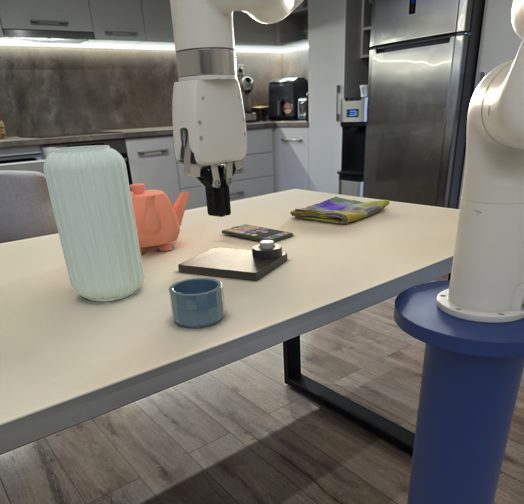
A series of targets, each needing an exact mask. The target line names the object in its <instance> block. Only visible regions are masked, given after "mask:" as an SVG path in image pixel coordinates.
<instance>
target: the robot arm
mask: <svg viewBox="0 0 524 504" xmlns="http://www.w3.org/2000/svg"><path fill="white" fill-rule="evenodd" d="M304 1H305V0H169V7H170V14H171V23H172V25H171V26H172V32H173V42H174V50H175V60H176V71H177V80H178V81H174V82H173V88H172V89H173V90H172V100H171V103H172V104H171V114H172V116H171V117H172V118H171V119H172V139H173V149H174V156H175V159H176V162H177V163H178V164H180V165H183V169H182V170H183V171H182V172H183V174H184V175H185V176H189V177H193V178H194V177H195V178H197V180H198V181H199V182H200V185H201V187H203V188H204V189H205V200H206V210H207V215H208V216H211V217H218V218H224V217H226V216H230V215H231V213H232V208H231V207H232V206H231V195H230V186H232V184H233V177H234V176H235V173H236V171H238V170H240V169H242V168H243V167H244V166H245V161H244V158H245V157H246V155H247V153H248V152H247V151H248V133H247V122H246V115H245V114H246V113H245V106H244V101H243V95H242V91H241V85H240V81H239V80H238V75H237V70H238V68H239V64H238V62H237V58H236V57H237V56H236V45H235V44H236V43H235V30H234V29H235V28H234V12H243V13H245V14H247V15H248V16H249V17H250V18H252V19H253V20H255V21H256V22H258V23H260V24H265V25H270V24H276V23H279V22H280V21H282V20H284V19H285V18H287V17H288V16H290V14H292V13H293V12H294V11H295V10H296V9H297V8H298V7H299V6H300V5H301V4H302V3H303V2H304ZM510 13H511V16H510V17H511V24H512V28H513V31H514V32H515V34H516V36H517V37H518V38H519V39H520V40H521V42H520V43H519V44H520V45H519V47H518V49H517V53H516V55H515V58H513V59H510V60H507V61H505V62H502V63H501V64H499V65H497V66H495V67H494V68H493V69H491V70H490V71H489V72H488V73H486V75H485V76H484V77H483V78H482V79H481V81H480V82H479V83H478V85H477V86H476V88H475V90H474V91H473V93H472V96H471V98H470V102H469V105H468V110H467V117H466V119H467V120H466V135H465V136H466V137H465V138H466V139H465V143H466V144H465V162H464V172H463V173H464V174H463V180H462V181H463V182H462V190H461V197H460V203H459V211H458V218H457V219H458V220H457V224H456V225H457V226H456V232H455V233H456V234H455V241H454V248H453V256H452V262H451V263H452V264H451V272H450V278H449V280H450V286H449V289H446V290H444V291H442V292H440V293H439V294H438V295H437V301H436V304H437V306H438V308H439V309H440V310H442V311H443V312H445V313H446V314H449V315H451V316H454V317H457V318H460V319H464V320H469V321H475V322H484V323H505V322H512V321H516V320H520V319H522V318H524V0H512V5H511V12H510Z"/></svg>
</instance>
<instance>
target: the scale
mask: <svg viewBox="0 0 524 504" xmlns="http://www.w3.org/2000/svg"><path fill="white" fill-rule="evenodd" d="M287 261H288V252H283V246H282V245H281V244H279V243H275V242H274V248H271V249H260V243H257V244H255V245H253V246H251V249H245V248H244V249H242V248H231V247H221V246H220V247H219V246H214V247H213V248H210V249H208V250H207V251H204V252H202V253H199V254H197V255H196V256H193V257H191V258H188V259H187V260H185V261H182V262H181V263H179V264H177V268H178V273H185V274H193V275H202V276H210V277H211V276H212V277H218V278H219V277H220V278H221V277H222V278H229V279H238V280H247V281H255V282H256V281H258V280H260V279H261V278H263V277H264V276H265V275H267V274H269V273H270V272H272V271H274V270H275V269H276V268H278V267H280V266H281V265H282V264H284V263H286V262H287Z"/></svg>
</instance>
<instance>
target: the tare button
mask: <svg viewBox="0 0 524 504" xmlns="http://www.w3.org/2000/svg"><path fill="white" fill-rule="evenodd" d="M274 243H275V242H274V241H272V240H262V241H259V244H260V249H271V248H274Z"/></svg>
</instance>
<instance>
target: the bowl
mask: <svg viewBox="0 0 524 504" xmlns="http://www.w3.org/2000/svg"><path fill="white" fill-rule="evenodd" d="M168 295H169V302H170V309H171V316H172V319H173V321H174V322H175V323H177V324H178V325H179V326H181V327H184V328H190V329H197V328H205V327H206V328H207V327H209V326H212V325H215V324H217V323H219V322H220V321H221V320H222V319H223V318H224V317H225V314H226V307H225V299H224V298H225V296H224V285H223V283H222V282H221V281H220V280H218V279H217V278H216V279H215V278H209V277H194V278H186V279H183V280H180V281H177V282H175V283H173V284H171V285H169V287H168Z"/></svg>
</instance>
